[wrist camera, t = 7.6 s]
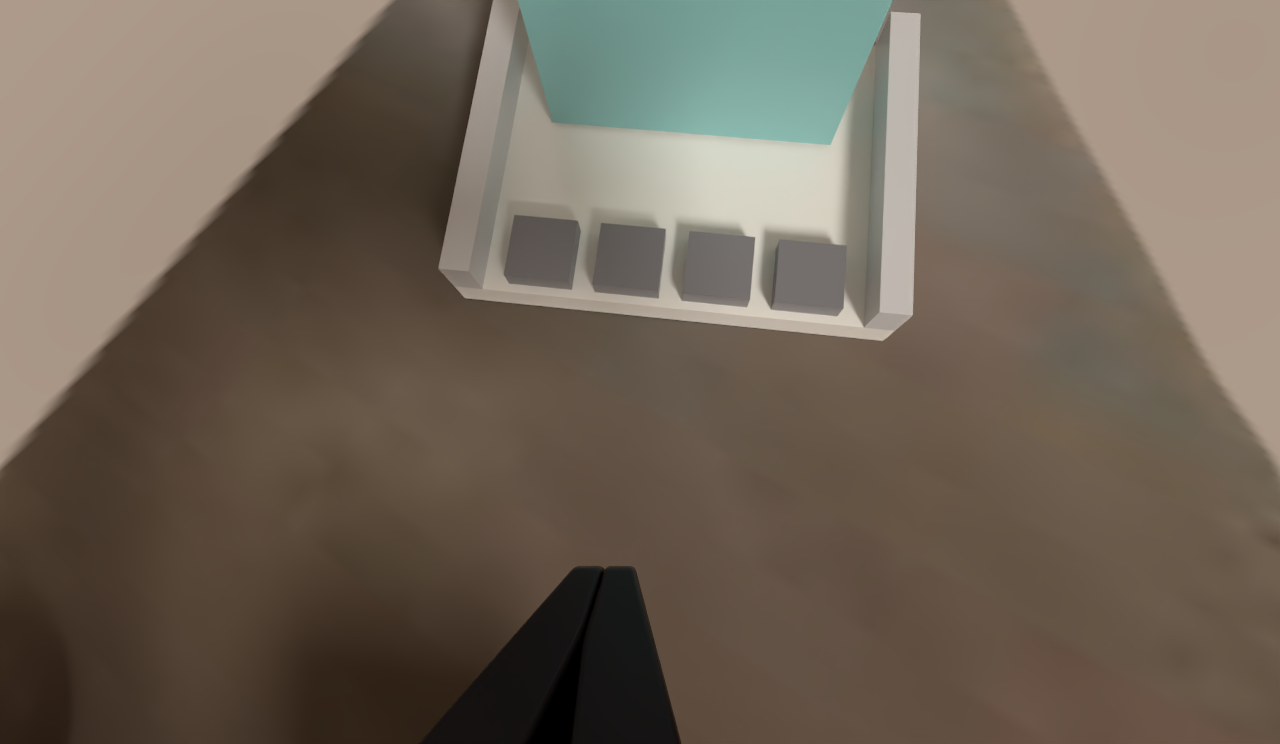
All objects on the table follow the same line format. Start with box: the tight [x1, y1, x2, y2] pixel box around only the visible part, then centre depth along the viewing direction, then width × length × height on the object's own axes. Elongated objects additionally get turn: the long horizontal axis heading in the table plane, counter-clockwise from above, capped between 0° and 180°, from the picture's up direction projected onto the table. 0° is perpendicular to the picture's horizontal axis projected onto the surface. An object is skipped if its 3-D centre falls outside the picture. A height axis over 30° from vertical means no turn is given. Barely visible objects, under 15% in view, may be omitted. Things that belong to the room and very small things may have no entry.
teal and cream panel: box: [518, 0, 893, 145], centre depth 19 cm, size 3×10×8 cm, turn 83°
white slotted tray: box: [438, 0, 920, 341], centre depth 23 cm, size 11×15×3 cm
